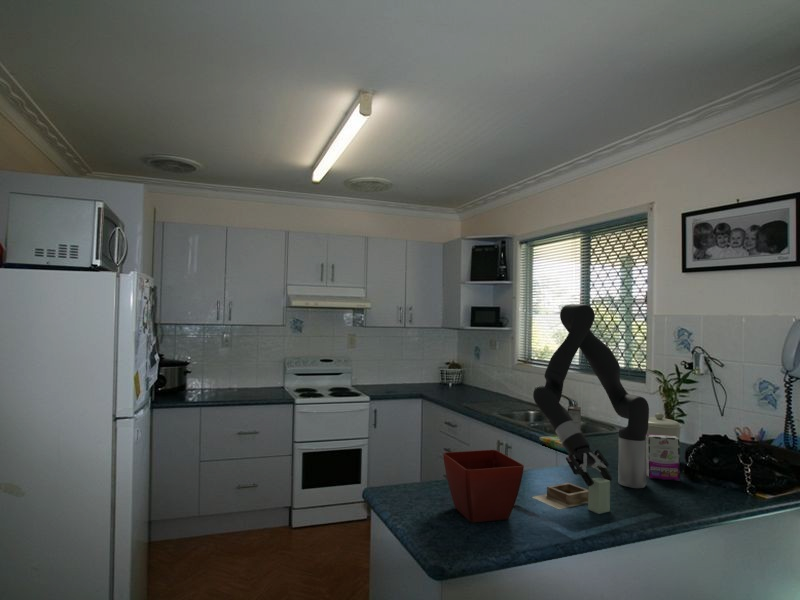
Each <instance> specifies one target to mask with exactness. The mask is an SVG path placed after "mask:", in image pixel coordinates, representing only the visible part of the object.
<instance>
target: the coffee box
mask: <svg viewBox="0 0 800 600" xmlns="http://www.w3.org/2000/svg"><path fill="white" fill-rule="evenodd" d="M581 411H582V408H581V407H580V406H572V405H568V407H567V412H568V413H569V415H570V416H571V418H572V419H573V421H574V422H575V424H576V425H577V426H578V427H579V429H580V430H581V428H582V424H581V423H582V421H581V419H582V418H581V417H582V416H581V415H582V414H581Z"/></svg>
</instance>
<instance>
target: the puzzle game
mask: <svg viewBox="0 0 800 600" xmlns="http://www.w3.org/2000/svg"><path fill="white" fill-rule="evenodd" d="M538 438H539V439H538V440H540V441H541V442H544V445H545V446H546V447H549V448H551V449H555V450H557V451H561V452H564V453H567V454H568V452H567V451H566V449H565V447H564V446H563V444H562V443H561V441H560V439H559V438H558V436H557V434H555V435H547V436H539V437H538Z"/></svg>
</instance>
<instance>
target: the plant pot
mask: <svg viewBox="0 0 800 600" xmlns="http://www.w3.org/2000/svg"><path fill="white" fill-rule="evenodd" d="M442 458H443V464H444V469H445V470H444V471H445V475H446V480H447V483H448V484H447V485H448V487H449V492H450V495H451V498H452V502H453V505H454V508H455V509H456V510H457V511H458V512H459V513H460V514H461V515H462V516H463V517H464V518H465V519H466V520H468V521H469V522H470V523H472V524H473V523H474V524H475V523H484V522H485V523H486V522H493V521H501V520H508V519H510V517H511V514H512V513H513V509H514V506H515V503H516V501H517V498H518V495H519V492H520V489H521V484H522V481H523V480H522V479H523V474H524V469H525V466H524V464H522V463H521V462H519V461H517V460H515V459H514V458H512V457H509V456H508V455H506V454H504V453H502V452H501V451H499V450H497V449H483V450H481V449H480V450H467V451H466V450H465V451H449V452H447V451H446V452H443V453H442Z"/></svg>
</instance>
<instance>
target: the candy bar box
mask: <svg viewBox="0 0 800 600" xmlns="http://www.w3.org/2000/svg"><path fill="white" fill-rule="evenodd" d="M680 455H681V454H680V437H679V438H678V437H677V436H666V435H649V434H646V460H647V478H649V479H650V480H663V481H673V482H674V481H675V482H679V481H680V482H681V479H680V478H681V473H680V471H681V470H680V469H681V468H680V465H681V464H680V462H681V461H680Z"/></svg>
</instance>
